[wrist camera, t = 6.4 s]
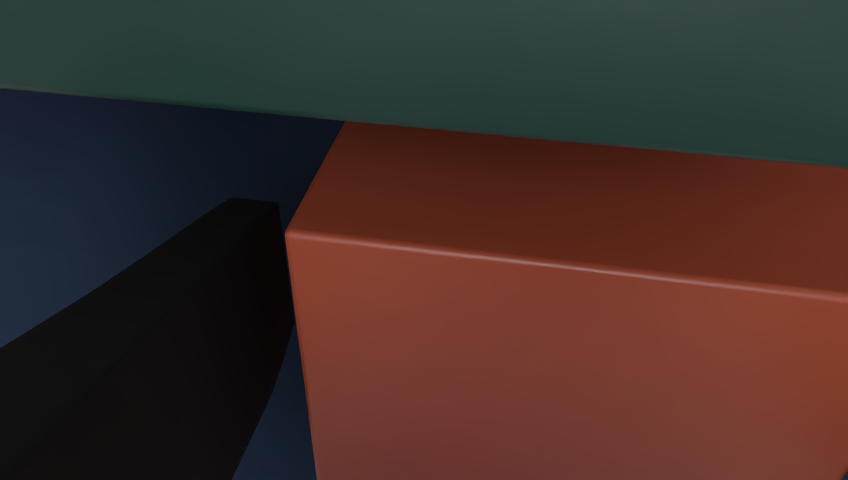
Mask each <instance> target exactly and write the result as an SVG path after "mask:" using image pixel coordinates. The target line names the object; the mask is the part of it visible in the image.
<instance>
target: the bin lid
mask: <svg viewBox="0 0 848 480" xmlns="http://www.w3.org/2000/svg"><path fill="white" fill-rule="evenodd" d="M0 88H2V89H12V90H23V91H33V92H44V93H55V94H65V95H76V96H86V97H97V98H107V99H118V100H128V101H139V102H150V103H160V104H171V105H181V106H192V107H202V108H213V109H223V110H234V111H245V112H255V113H266V114H276V115H287V116H297V117H308V118H319V119H329V120H340V121H350V122H361V123H371V124H382V125H392V126H403V127H414V128H424V129H435V130H445V131H456V132H466V133H477V134H488V135H498V136H509V137H519V138H530V139H540V140H551V141H561V142H572V143H583V144H593V145H604V146H614V147H625V148H635V149H646V150H656V151H667V152H678V153H688V154H699V155H709V156H720V157H730V158H741V159H752V160H762V161H773V162H783V163H794V164H804V165H815V166H825V167H836V168H847V169H848V0H0Z"/></svg>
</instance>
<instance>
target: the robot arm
mask: <svg viewBox="0 0 848 480" xmlns="http://www.w3.org/2000/svg"><path fill="white" fill-rule="evenodd" d="M293 326H294V315H293V308H292V301H291V293H290V286H289V279H288V271H287V264H286V257H285V249H284V242H283V235H282V227H281V220H280V213H279V205H278V203H276V202H267V201H258V200H249V199H240V198H230V199H228V200H227V201H225V202H223V203H222V204H220V205H219V206H217V207H215V208H214V209H212V210H211V211H209V212H208V213H206V214H205V215H203V216H202V217H200V218H199V219H197V220H196V221H195V222H193V223H192V224H190V225H189V226H187V227H186V228H184V229H183V230H181V231H180V232H179V233H177V234H176V235H174V236H173V237H171V238H170V239H168V240H167V241H166V242H164V243H163V244H161V245H160V246H158V247H157V248H155V249H154V250H153V251H151V252H150V253H148V254H147V255H145V256H144V257H142V258H141V259H139V260H138V261H136V262H135V263H133V264H132V265H130V266H129V267H127V268H126V269H125V270H123V271H122V272H120V273H119V274H117V275H116V276H114V277H113V278H111V279H110V280H108V281H107V282H105V283H104V284H102V285H101V286H99V287H98V288H96V289H95V290H93V291H92V292H90V293H89V294H87V295H86V296H84V297H82V298H81V299H79V300H78V301H76V302H74V303H73V304H71V305H69V306H68V307H66V308H65V309H63V310H61V311H60V312H58V313H57V314H55V315H53V316H52V317H50V318H48V319H47V320H45V321H44V322H42V323H40V324H39V325H37V326H36V327H34V328H32V329H31V330H29V331H27V332H26V333H24V334H23V335H21V336H19V337H18V338H16V339H15V340H13V341H11V342H10V343H8V344H7V345H5V346H3V347H1V348H0V480H232V478H233V475H234V473H235V471H236V469H237V467H238V465H239V463H240V461H241V459H242V456H243V454H244V452H245V450H246V448H247V446H248V444H249V442H250V439H251V437H252V435H253V433H254V431H255V429H256V427H257V424H258V422H259V420H260V418H261V416H262V414H263V411H264V409H265V407H266V405H267V403H268V400H269V398H270V396H271V394H272V391H273V388H274V385H275V383H276V380H277V377H278V374H279V371H280V368H281V365H282V362H283V358H284V355H285V352H286V349H287V345H288V342H289V339H290V336H291V332H292V329H293Z"/></svg>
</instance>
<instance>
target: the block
mask: <svg viewBox="0 0 848 480" xmlns="http://www.w3.org/2000/svg"><path fill="white" fill-rule="evenodd" d="M285 241H286V249H287V256H288V264H289V272H290V279H291V287H292V294H293V302H294V309H295V317H296V325H297V332H298V340H299V347H300V355H301V362H302V370H303V378H304V385H305V393H306V400H307V408H308V416H309V423H310V431H311V438H312V446H313V453H314V461H315V469H316V476H317V480H842V479H843V477H844V476H845V474H846V472H847V471H848V169H847V168H836V167H825V166H815V165H804V164H794V163H783V162H773V161H762V160H752V159H741V158H730V157H720V156H709V155H699V154H688V153H678V152H667V151H656V150H646V149H635V148H625V147H614V146H604V145H593V144H583V143H572V142H561V141H551V140H540V139H530V138H519V137H509V136H498V135H488V134H477V133H466V132H456V131H445V130H435V129H424V128H414V127H403V126H392V125H382V124H371V123H361V122H350V121H345V122H344V124H343V126H342V128H341V130H340V131H339V133H338V135H337V137H336V139H335V141H334V143H333V144H332V146H331V148H330V150H329V152H328V154H327V155H326V157H325V159H324V161H323V163H322V165H321V166H320V168H319V170H318V172H317V174H316V176H315V177H314V179H313V181H312V183H311V185H310V187H309V188H308V190H307V192H306V194H305V196H304V198H303V199H302V201H301V203H300V205H299V207H298V209H297V210H296V212H295V214H294V216H293V218H292V220H291V222H290V223H289V225H288V227H287V229H286V231H285Z"/></svg>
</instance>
